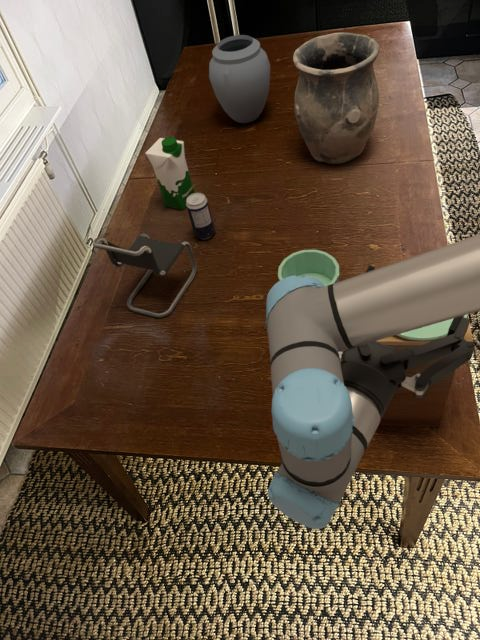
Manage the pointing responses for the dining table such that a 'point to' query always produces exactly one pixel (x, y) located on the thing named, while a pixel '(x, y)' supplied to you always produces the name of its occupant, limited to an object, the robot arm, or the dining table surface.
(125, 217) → the dining table surface
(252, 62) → the vase
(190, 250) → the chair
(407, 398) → the stand
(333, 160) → the clay pot
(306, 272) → the green round bowl
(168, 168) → the milk carton
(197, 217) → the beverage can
